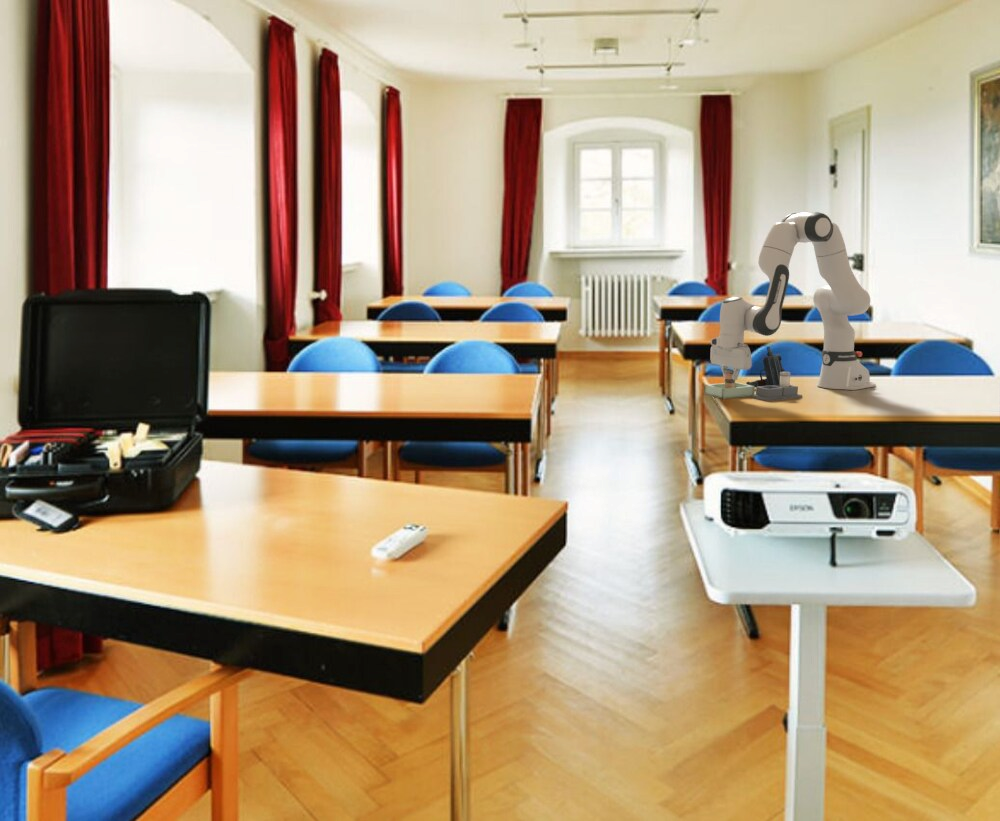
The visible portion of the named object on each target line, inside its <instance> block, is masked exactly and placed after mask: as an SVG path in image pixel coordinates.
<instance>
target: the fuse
mask: <svg viewBox="0 0 1000 821" xmlns="http://www.w3.org/2000/svg"><path fill="white" fill-rule="evenodd" d="M790 385H791V372H790V371H785V372H780V387H790Z"/></svg>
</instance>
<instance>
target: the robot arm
mask: <svg viewBox="0 0 1000 821" xmlns="http://www.w3.org/2000/svg"><path fill="white" fill-rule="evenodd" d="M798 243H804V244H805V243H812V245H813V250H814V254H815V255H814V256H815V259H816V263H817V267H818V272H819V275H820V277H822V279H824V281H826V283H827V284H826V285H822V286H819V288H817V289H816V290H815V292H814V294H813V297H812V298H813V299H812V300H813V305H814V306H815V308H816V309H817V310H818V312H819V314H820V317H821V322H822V324H823V349H822V353H821V360H822V364H821V367H820V374H819V379H818V382H817V387H820V388H824V389H831V390H847V391H850V390H851V391H857V390H861V389H867V388H872V387H873V388H874V387H877V384H876V383H875V382H873V381H870V379H871V377H870V370H869V369H867V368H866V367H865V366H864V365H863V364H861V363H860V362H859V361H858V359H857V358H861V357H862V356H863V353H862V351H855V350H854V349H855V335H856V334H855V332H856V331H855V329H854V327H853V326H852V325H851V323H850V321H849V318H848V316H858V315H862V314H864V313H867V311H868V309H869V307H870V306H871V296H870V294H869V293H868V291H867V290H865V289H864V287H863V286H862V285H861V284H860V283H859V281H858V280H857V278H856V275H854V272H853V270H852V267H851V265H850V260H849V257H848V253H847V248H846V244H845V240H844V237H843V235H842V231H841V230H840V227H839V226H838V225H837V223H835V222H832V220H831V218H830V217H829V215H827V214H825V213H823V212H818V211H815V212H813V211H803V212H794V213H790V214H788V215H786V216H785V217H784V218H783V219H782V220H781V221H779V222H778V221H777V222H775V223H774V224H773V225H772V226H771V228H770V229H769V231H768V233H767V235H766V238H765V239H764V241H763V245H762V247H761V250H760V252H759V256H758V267H759V268H760V270H761V271H762V273H764V274H765V275H766V277H768V279H769V286H768V290H767V295H766V299H765V302H764V304H763V305H762V306H758V305H754V304H752V303H750V302H748V301H747V300H745V299H744V298H743V297H740V296H731V297H728V298H727V297H726V298H725V299H723V301H722V302H721V305H720V310H719V311H720V312H719V324H720V325H719V326H720V328H719V332H718V333H719V336H717V337H713V338H711V339H710V345H711V347H710V353H709V354H710V356H709V357H710V358H709V359H710V363H711V364H712V365H717V366H720V370H721V372H722V378H724V379H725V369H729V368H730V369H733V371H734V373H733V375H731V377H732V378H731V379H732V380H735V381H738V379H739V378H738V377H739V374H740V372H741V370H742V371H749V370H750V369H751V368H752V367H753V366H752V365H753V364H752V353H751V348H750V347H749V345H748V344H747V343H745V342H744V340H745V339H744V338H745V331H747V332H750V333H756V334H759V335H761V336H762V335H763V336H766V337H769V336H773V334H775V333H776V332H777V331H778V330H779V329H780V326H781V322H782V309H783V306H784V305H783V304H784V302H785V301H784V300H785V296H786V293H787V288H788V284H789V280H790V270H789V267H790V266H789V265H790V262H791V259H792V256H793V254H794V249H795V247H796V245H797V244H798Z"/></svg>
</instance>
